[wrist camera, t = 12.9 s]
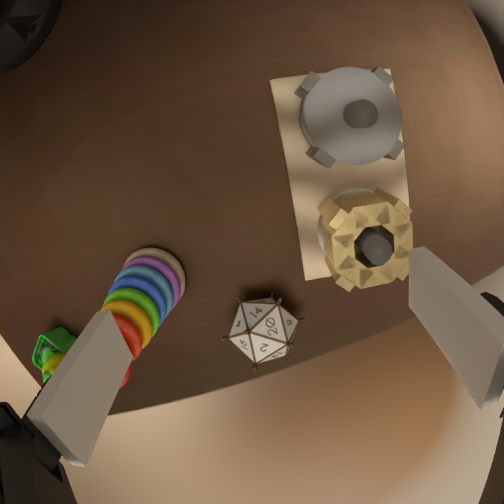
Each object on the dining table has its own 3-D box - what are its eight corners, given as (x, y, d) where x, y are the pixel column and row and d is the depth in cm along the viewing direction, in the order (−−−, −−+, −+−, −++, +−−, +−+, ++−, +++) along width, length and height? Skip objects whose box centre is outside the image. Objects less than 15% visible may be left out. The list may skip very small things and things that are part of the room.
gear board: (269, 82, 30) (273, 63, 22) (384, 71, 29) (420, 55, 21) (303, 275, 38) (315, 315, 29) (405, 255, 37) (439, 287, 28)
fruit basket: (45, 344, 43) (10, 386, 33) (58, 310, 41) (17, 353, 30) (100, 384, 45) (74, 433, 35) (120, 355, 43) (91, 408, 32)
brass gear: (325, 269, 36) (336, 294, 30) (315, 197, 33) (326, 210, 27) (392, 256, 35) (413, 278, 29) (388, 186, 32) (411, 197, 27)
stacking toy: (114, 259, 38) (30, 346, 20) (168, 235, 36) (96, 322, 19) (145, 312, 40) (86, 417, 22) (198, 292, 39) (158, 406, 21)
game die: (249, 291, 43) (210, 285, 34) (313, 293, 39) (288, 287, 30) (246, 358, 41) (206, 370, 32) (309, 365, 38) (283, 381, 29)
